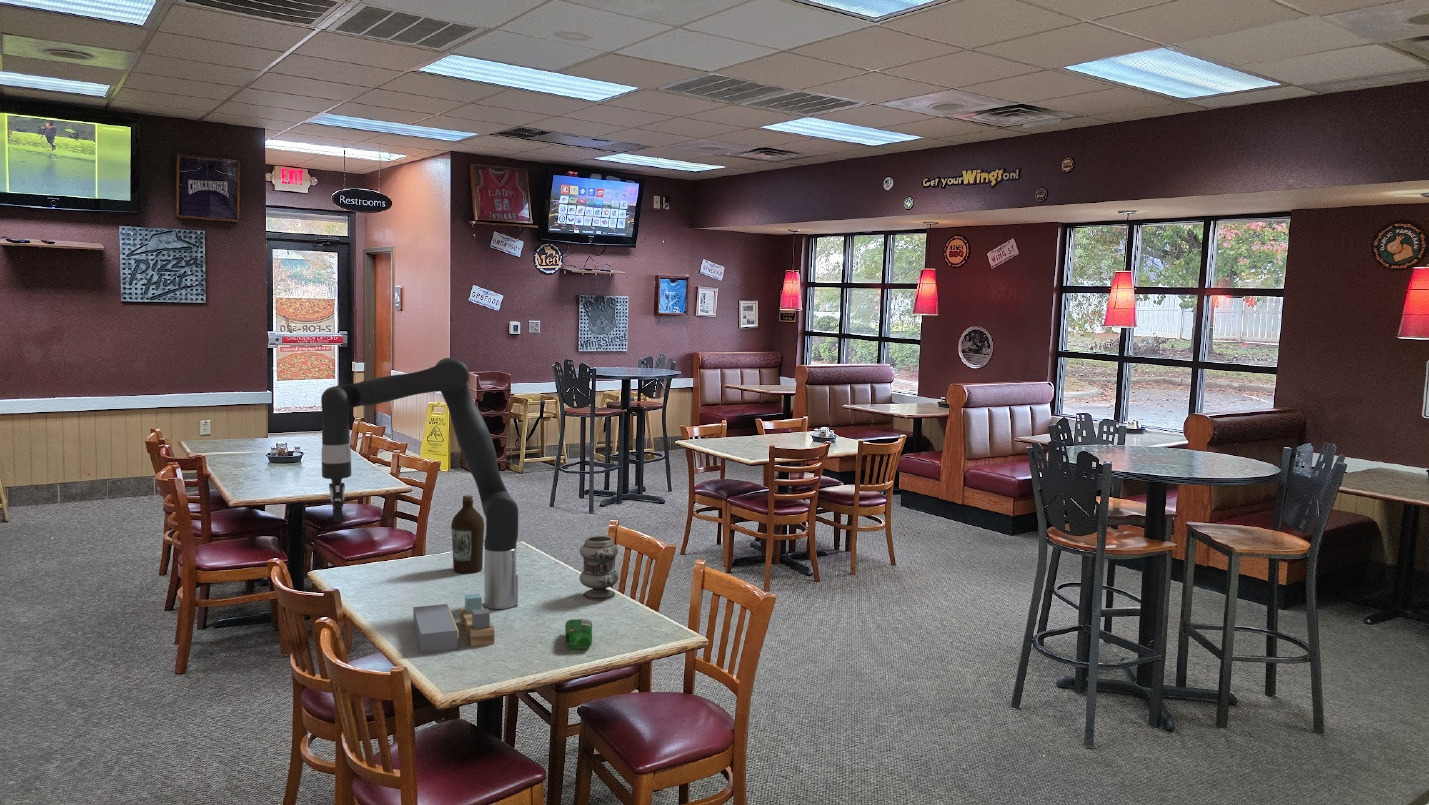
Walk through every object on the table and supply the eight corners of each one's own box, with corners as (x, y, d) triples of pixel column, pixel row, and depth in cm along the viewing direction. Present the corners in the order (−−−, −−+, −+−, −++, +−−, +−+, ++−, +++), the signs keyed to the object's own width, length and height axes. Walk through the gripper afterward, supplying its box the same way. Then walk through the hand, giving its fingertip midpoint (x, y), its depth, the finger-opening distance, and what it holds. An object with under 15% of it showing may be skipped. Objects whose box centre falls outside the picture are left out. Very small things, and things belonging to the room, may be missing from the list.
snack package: (592, 632, 261) (592, 614, 261) (592, 652, 246) (592, 633, 245) (565, 633, 260) (565, 614, 260) (564, 653, 245) (564, 633, 244)
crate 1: (479, 607, 267) (479, 593, 267) (481, 611, 264) (481, 597, 263) (464, 608, 266) (464, 594, 265) (466, 613, 262) (466, 599, 262)
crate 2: (487, 623, 254) (487, 608, 254) (489, 627, 251) (489, 613, 250) (471, 624, 253) (471, 609, 253) (474, 629, 249) (474, 614, 249)
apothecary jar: (593, 587, 302) (594, 531, 300) (626, 593, 297) (626, 536, 295) (571, 597, 291) (571, 539, 290) (604, 604, 286) (604, 545, 284)
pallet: (460, 621, 267) (460, 607, 267) (482, 619, 270) (482, 605, 269) (470, 646, 248) (470, 631, 248) (494, 644, 250) (494, 629, 250)
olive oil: (462, 564, 326) (462, 492, 323) (490, 567, 323) (490, 494, 320) (445, 572, 315) (444, 497, 313) (473, 575, 313) (473, 500, 310)
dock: (448, 621, 267) (448, 604, 266) (458, 649, 246) (458, 630, 245) (413, 624, 263) (413, 607, 263) (421, 653, 242) (421, 634, 242)
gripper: (352, 463, 256) (353, 522, 258) (350, 455, 269) (351, 512, 271) (321, 464, 253) (323, 524, 255) (321, 456, 266) (322, 513, 268)
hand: (337, 518), depth 263 cm, fingers open, 8 cm apart
